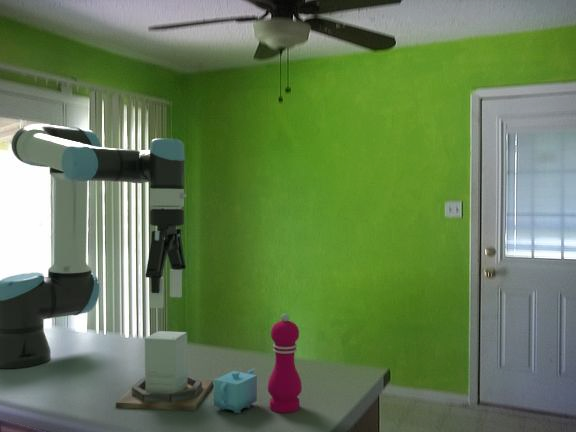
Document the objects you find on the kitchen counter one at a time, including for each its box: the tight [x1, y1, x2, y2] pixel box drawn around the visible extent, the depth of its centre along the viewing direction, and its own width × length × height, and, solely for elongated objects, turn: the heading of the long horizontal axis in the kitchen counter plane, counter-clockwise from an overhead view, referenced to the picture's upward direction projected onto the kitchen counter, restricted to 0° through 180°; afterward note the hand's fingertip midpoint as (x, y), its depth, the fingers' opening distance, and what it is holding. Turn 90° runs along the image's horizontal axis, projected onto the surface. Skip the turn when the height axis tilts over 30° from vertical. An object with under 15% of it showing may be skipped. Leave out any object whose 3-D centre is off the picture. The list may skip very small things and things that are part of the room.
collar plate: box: [115, 374, 214, 411], centre depth 125 cm, size 17×17×2 cm
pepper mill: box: [267, 313, 303, 414], centre depth 117 cm, size 7×7×20 cm
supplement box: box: [144, 330, 188, 393], centre depth 125 cm, size 7×7×13 cm
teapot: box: [213, 367, 258, 414], centre depth 118 cm, size 12×6×8 cm, turn 149°
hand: (166, 302), depth 125 cm, fingers open, 13 cm apart
